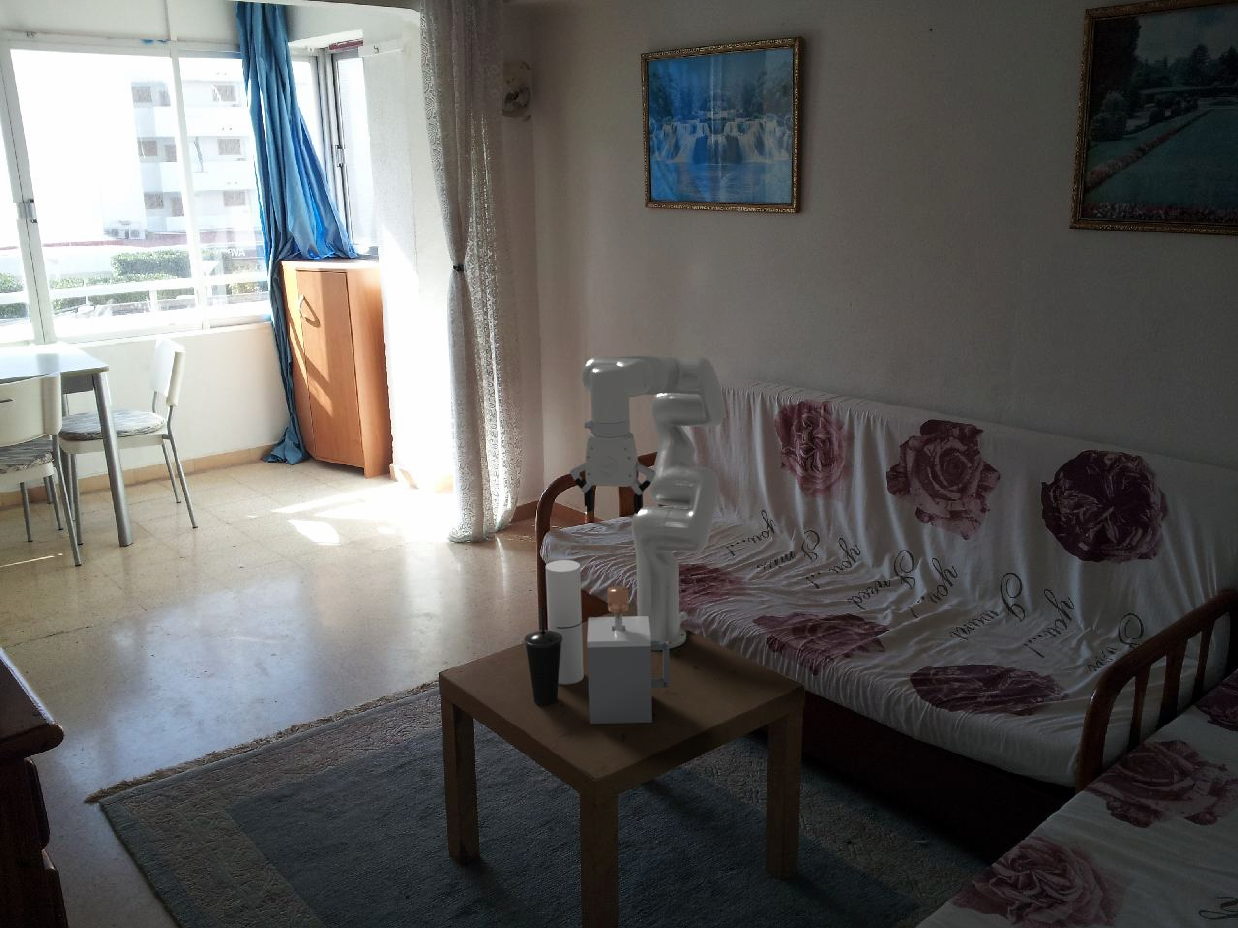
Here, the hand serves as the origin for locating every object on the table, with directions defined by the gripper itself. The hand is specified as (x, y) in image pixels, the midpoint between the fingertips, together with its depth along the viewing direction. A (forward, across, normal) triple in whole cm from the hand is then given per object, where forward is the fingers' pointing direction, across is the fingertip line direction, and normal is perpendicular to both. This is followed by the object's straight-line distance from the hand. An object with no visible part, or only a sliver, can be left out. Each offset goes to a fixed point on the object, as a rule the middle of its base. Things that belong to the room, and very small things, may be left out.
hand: (614, 510), depth 215 cm
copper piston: (+35, +3, -13) cm, 37 cm away
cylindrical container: (+38, -12, 0) cm, 40 cm away
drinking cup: (+38, -13, -12) cm, 41 cm away
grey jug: (+37, +5, -12) cm, 40 cm away
